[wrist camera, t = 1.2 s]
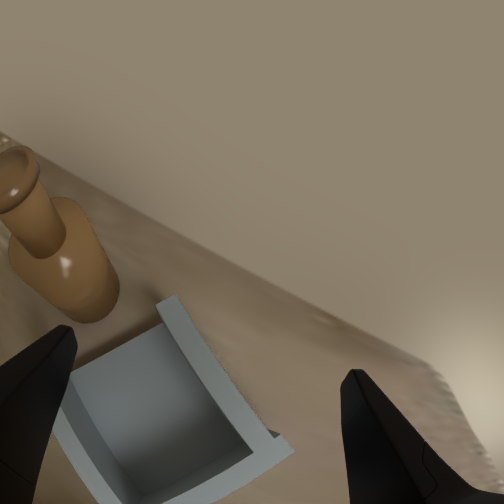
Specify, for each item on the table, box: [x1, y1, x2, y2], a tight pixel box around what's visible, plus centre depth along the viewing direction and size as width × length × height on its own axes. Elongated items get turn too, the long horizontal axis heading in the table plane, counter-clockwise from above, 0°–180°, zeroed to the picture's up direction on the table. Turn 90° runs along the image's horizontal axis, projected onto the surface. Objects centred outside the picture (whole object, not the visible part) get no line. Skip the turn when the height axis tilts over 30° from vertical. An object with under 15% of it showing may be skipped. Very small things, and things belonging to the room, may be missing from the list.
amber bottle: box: [0, 146, 120, 323], centre depth 17 cm, size 6×6×15 cm
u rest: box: [52, 294, 295, 504], centre depth 17 cm, size 12×13×6 cm
